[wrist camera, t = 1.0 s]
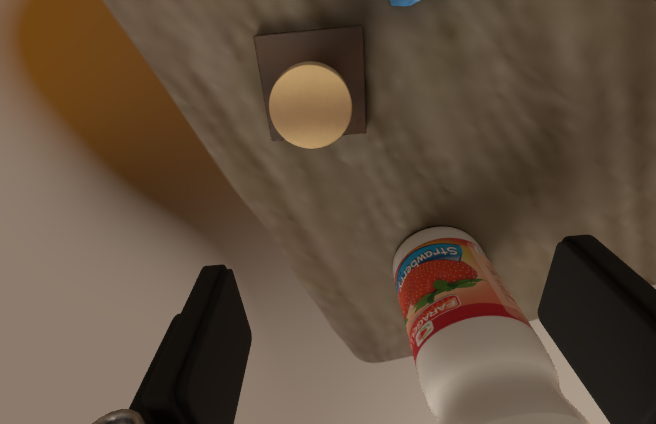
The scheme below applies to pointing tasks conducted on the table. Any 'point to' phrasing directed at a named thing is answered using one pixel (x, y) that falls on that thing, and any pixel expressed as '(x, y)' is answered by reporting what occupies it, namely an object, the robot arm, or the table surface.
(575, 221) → the table surface
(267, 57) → the stand
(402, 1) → the perfume bottle
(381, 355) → the table surface
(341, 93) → the chip
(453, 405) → the white yogurt drink bottle
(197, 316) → the robot arm
